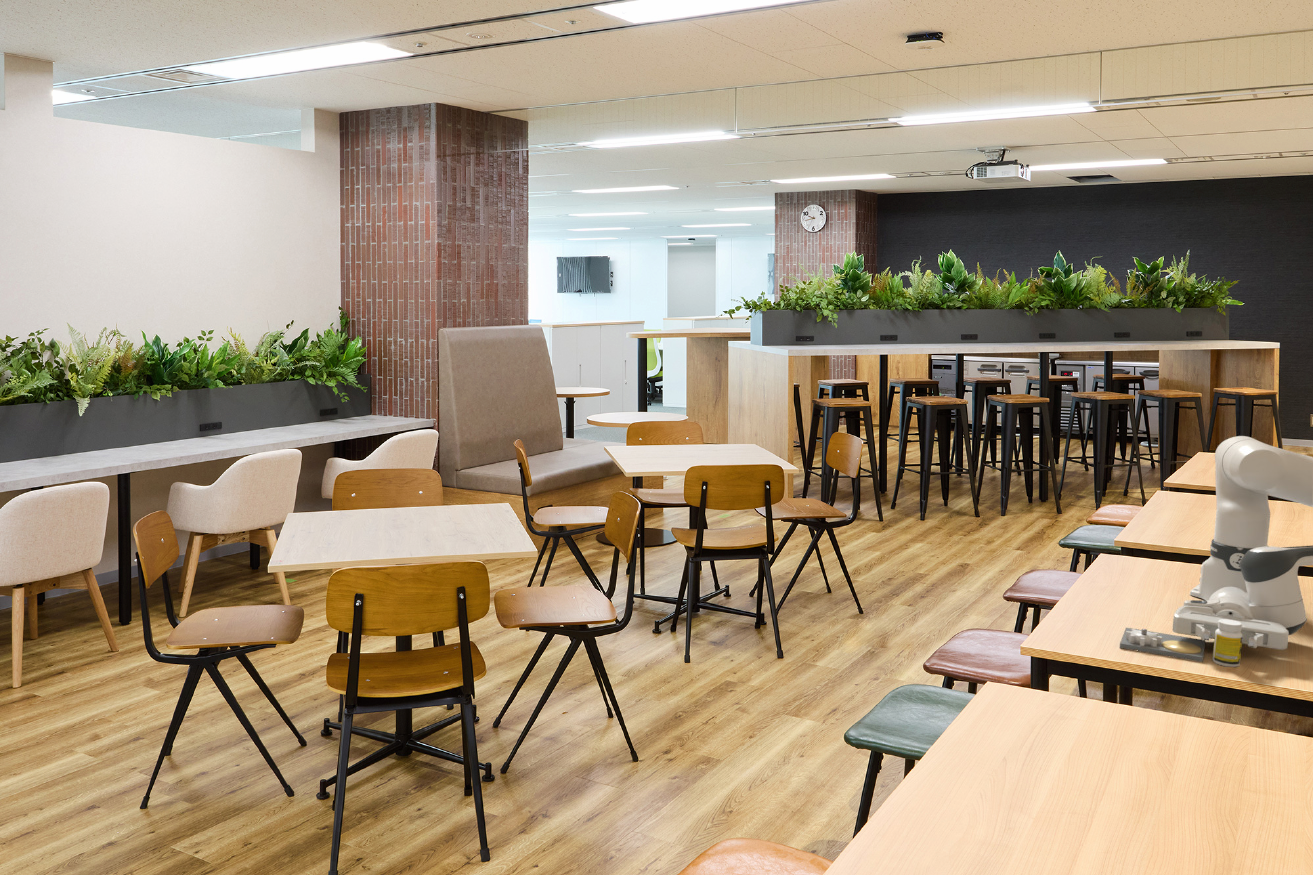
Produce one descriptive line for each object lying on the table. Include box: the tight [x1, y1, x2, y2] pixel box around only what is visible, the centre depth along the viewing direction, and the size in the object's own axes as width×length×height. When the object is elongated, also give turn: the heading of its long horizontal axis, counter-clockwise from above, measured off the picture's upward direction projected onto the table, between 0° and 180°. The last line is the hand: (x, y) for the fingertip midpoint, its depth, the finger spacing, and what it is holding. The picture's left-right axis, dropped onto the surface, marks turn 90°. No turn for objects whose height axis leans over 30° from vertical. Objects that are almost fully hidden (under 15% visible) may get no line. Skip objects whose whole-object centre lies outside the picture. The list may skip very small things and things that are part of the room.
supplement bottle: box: [1212, 619, 1243, 668], centre depth 199 cm, size 5×5×8 cm
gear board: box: [1119, 627, 1206, 663], centre depth 209 cm, size 12×15×4 cm
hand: (1228, 639), depth 198 cm, fingers open, 7 cm apart
